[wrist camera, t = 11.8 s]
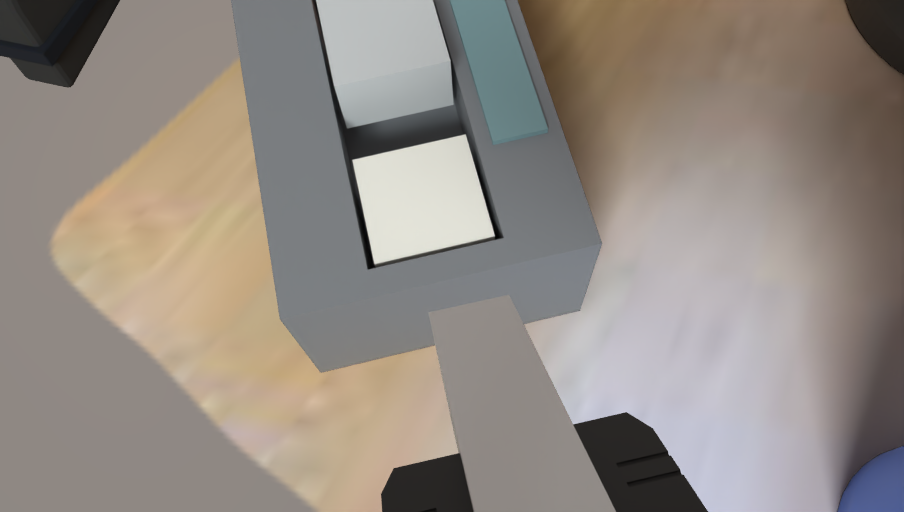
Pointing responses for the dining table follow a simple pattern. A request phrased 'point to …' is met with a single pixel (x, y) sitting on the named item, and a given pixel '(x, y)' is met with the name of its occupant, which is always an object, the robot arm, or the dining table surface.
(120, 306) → the dining table surface
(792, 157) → the dining table surface
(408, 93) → the grey key
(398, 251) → the ivory key
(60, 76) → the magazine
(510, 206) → the grey boxy piece
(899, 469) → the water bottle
